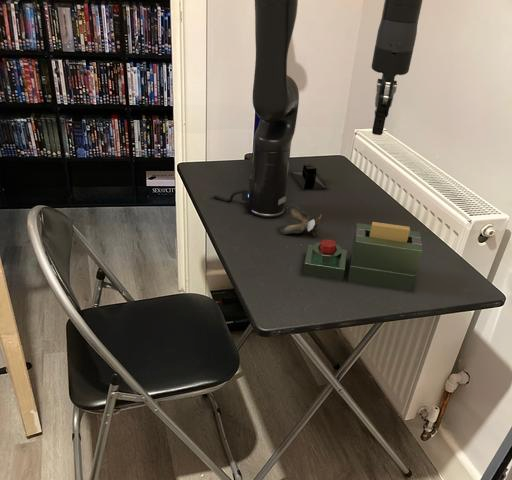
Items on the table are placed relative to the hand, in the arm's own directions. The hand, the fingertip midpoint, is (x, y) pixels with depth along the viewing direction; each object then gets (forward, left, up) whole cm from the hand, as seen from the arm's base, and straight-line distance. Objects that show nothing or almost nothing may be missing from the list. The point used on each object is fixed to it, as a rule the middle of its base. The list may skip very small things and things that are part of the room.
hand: (376, 133), depth 123 cm
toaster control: (-6, -14, -27) cm, 31 cm away
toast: (+6, -14, -23) cm, 27 cm away
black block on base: (-15, +36, -27) cm, 48 cm away
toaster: (+6, -14, -27) cm, 31 cm away
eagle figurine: (-14, +2, -27) cm, 31 cm away
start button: (-7, -13, -22) cm, 27 cm away
